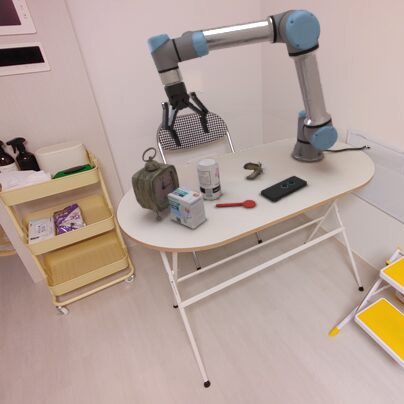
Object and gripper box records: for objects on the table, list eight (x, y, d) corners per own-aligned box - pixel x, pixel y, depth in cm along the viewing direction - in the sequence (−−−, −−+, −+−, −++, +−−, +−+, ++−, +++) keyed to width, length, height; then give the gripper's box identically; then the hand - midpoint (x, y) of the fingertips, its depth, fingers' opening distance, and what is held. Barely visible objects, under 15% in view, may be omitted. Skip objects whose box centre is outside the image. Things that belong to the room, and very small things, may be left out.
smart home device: (308, 181, 128) (274, 198, 117) (307, 185, 129) (274, 202, 118) (293, 174, 133) (259, 190, 122) (293, 178, 134) (259, 194, 123)
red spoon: (215, 210, 114) (215, 207, 113) (216, 203, 118) (215, 200, 117) (255, 207, 115) (255, 205, 114) (255, 200, 119) (254, 198, 118)
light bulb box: (171, 219, 109) (166, 194, 103) (185, 210, 113) (180, 185, 107) (194, 229, 104) (189, 203, 98) (206, 219, 109) (203, 194, 103)
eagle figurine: (254, 166, 141) (240, 169, 135) (262, 157, 136) (247, 159, 130) (263, 179, 139) (248, 183, 133) (270, 170, 134) (255, 173, 128)
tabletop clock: (160, 224, 107) (144, 159, 93) (139, 218, 109) (120, 155, 95) (182, 202, 118) (171, 142, 104) (163, 198, 121) (149, 139, 107)
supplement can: (198, 192, 124) (194, 159, 116) (218, 188, 127) (214, 155, 119) (203, 202, 118) (198, 168, 110) (223, 198, 121) (220, 164, 112)
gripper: (195, 75, 118) (212, 127, 129) (137, 94, 105) (161, 150, 115) (206, 73, 113) (222, 128, 123) (147, 93, 99) (171, 152, 110)
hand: (193, 139), depth 119 cm, fingers open, 13 cm apart
